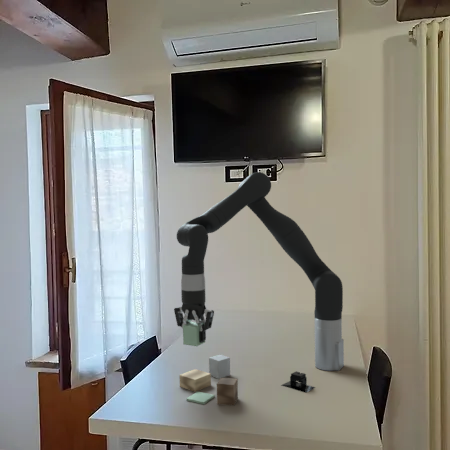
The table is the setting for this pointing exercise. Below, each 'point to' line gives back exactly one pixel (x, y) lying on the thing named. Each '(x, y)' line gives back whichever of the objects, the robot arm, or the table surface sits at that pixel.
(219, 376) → the grey block
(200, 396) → the tile
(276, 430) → the table surface
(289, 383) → the black piece
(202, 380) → the maple base
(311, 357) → the table surface
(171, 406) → the table surface
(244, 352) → the table surface
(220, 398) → the walnut block
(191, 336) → the green block
